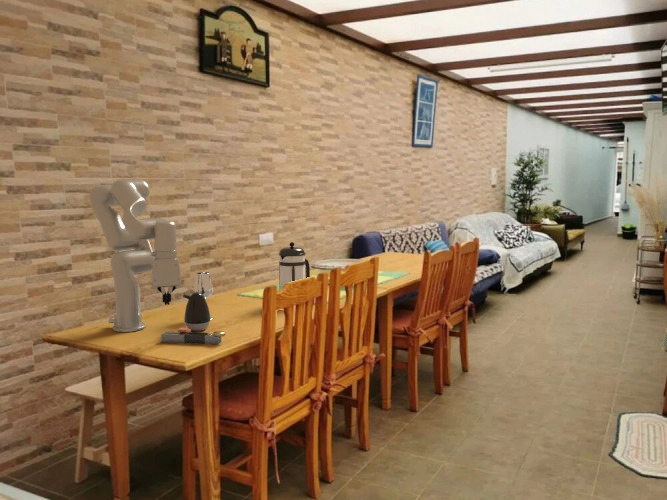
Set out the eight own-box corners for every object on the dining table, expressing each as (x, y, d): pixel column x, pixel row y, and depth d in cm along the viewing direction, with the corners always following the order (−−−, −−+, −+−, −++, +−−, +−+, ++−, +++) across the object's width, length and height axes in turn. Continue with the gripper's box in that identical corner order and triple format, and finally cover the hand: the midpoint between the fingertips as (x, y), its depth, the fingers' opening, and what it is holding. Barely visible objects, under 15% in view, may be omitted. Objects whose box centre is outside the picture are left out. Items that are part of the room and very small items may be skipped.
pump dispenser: (186, 326, 235) (185, 290, 233) (212, 325, 236) (211, 289, 234) (182, 333, 225) (180, 295, 223) (209, 332, 225) (207, 294, 224)
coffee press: (311, 307, 268) (310, 243, 264) (276, 307, 267) (275, 244, 263) (309, 299, 285) (309, 239, 281) (277, 299, 284) (276, 239, 280)
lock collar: (178, 340, 214) (178, 329, 214) (183, 337, 219) (183, 326, 218) (186, 340, 214) (185, 329, 213) (191, 337, 218) (190, 326, 217)
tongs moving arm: (161, 342, 212) (161, 333, 212) (163, 341, 214) (162, 332, 213) (218, 344, 209) (217, 336, 209) (219, 343, 211) (219, 334, 210)
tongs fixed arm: (161, 342, 212) (160, 331, 212) (166, 338, 217) (166, 328, 216) (223, 345, 208) (222, 334, 208) (227, 341, 212) (227, 331, 212)
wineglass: (209, 321, 243) (207, 274, 240) (192, 320, 244) (190, 274, 242) (216, 316, 250) (215, 271, 248) (200, 316, 252) (198, 271, 249)
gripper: (144, 257, 202) (145, 307, 205) (187, 255, 207) (188, 305, 210) (144, 254, 209) (145, 302, 212) (186, 252, 214) (186, 300, 217)
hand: (166, 303), depth 211 cm, fingers closed
